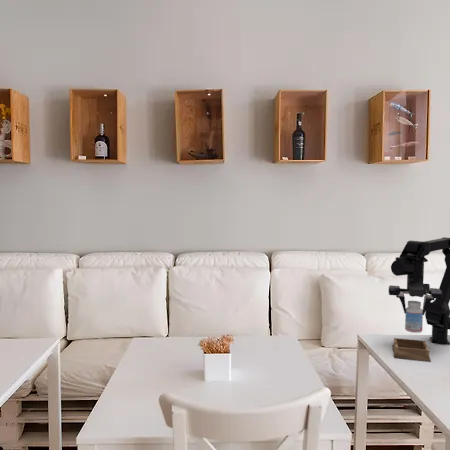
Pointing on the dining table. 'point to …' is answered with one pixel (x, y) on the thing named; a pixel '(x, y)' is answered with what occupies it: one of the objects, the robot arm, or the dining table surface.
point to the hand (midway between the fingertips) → (414, 314)
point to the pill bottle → (414, 317)
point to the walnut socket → (411, 350)
